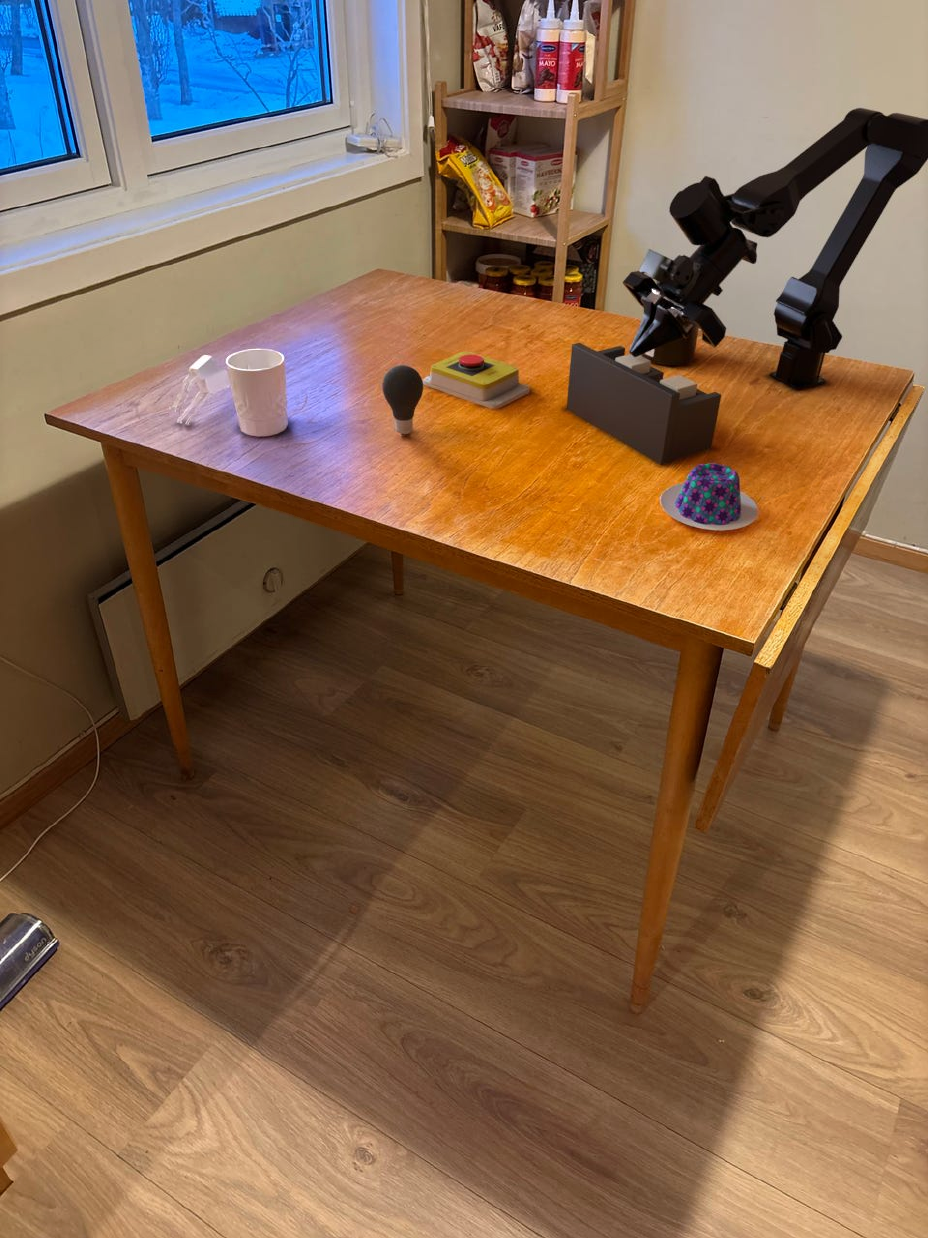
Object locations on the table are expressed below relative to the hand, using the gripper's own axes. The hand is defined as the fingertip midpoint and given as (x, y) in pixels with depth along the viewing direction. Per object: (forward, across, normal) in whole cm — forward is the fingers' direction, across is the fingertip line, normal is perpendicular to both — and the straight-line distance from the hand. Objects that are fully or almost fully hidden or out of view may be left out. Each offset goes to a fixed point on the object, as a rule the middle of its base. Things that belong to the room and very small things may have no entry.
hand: (631, 354), depth 132 cm
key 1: (+2, 0, +2) cm, 3 cm away
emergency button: (+18, -17, -5) cm, 25 cm away
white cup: (+42, -16, -29) cm, 54 cm away
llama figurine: (+45, -27, -32) cm, 61 cm away
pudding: (+11, +28, +2) cm, 30 cm away
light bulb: (+30, -6, -17) cm, 35 cm away
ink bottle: (-7, -16, +20) cm, 26 cm away
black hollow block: (+7, +5, +6) cm, 10 cm away
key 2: (+1, +9, +3) cm, 10 cm away
